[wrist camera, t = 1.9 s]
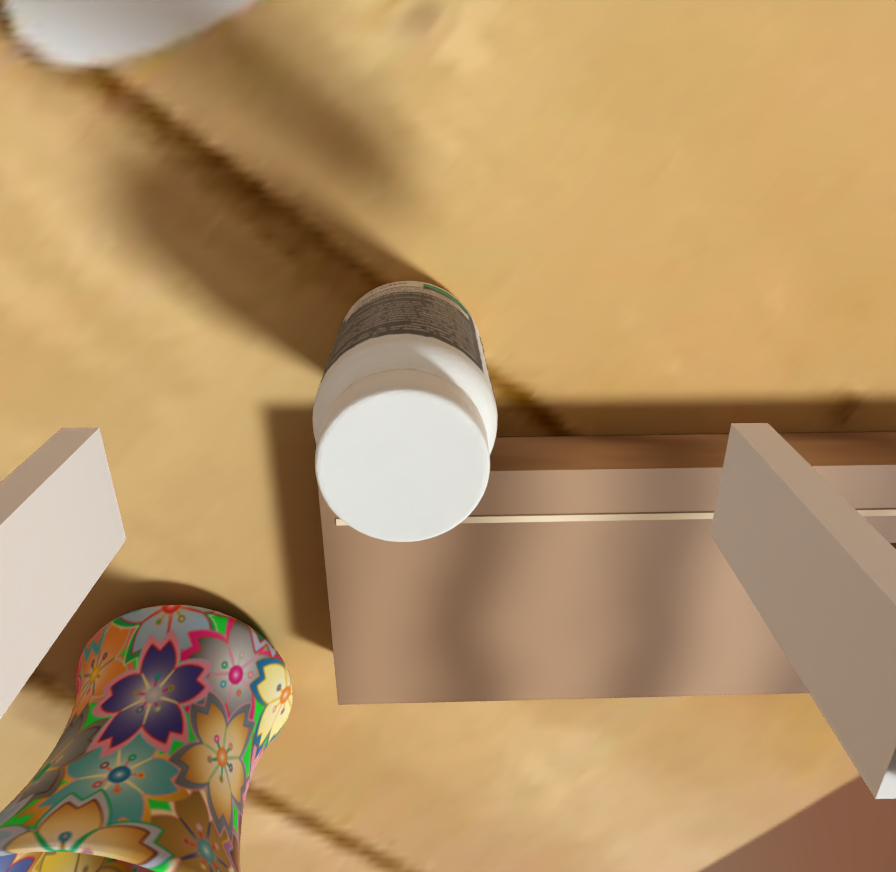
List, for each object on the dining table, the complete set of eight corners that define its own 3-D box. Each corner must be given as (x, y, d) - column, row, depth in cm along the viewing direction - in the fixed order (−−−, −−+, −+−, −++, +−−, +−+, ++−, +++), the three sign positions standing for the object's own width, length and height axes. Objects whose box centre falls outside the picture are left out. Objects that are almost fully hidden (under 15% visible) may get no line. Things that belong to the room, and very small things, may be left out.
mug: (35, 609, 27) (-174, 882, 18) (261, 560, 27) (170, 815, 17) (160, 808, 33) (50, 1103, 23) (352, 770, 32) (321, 1058, 22)
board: (345, 657, 29) (338, 705, 27) (326, 439, 25) (316, 474, 22) (868, 645, 30) (906, 691, 27) (940, 431, 25) (992, 464, 23)
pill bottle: (315, 304, 23) (260, 407, 15) (455, 257, 22) (472, 339, 14) (368, 430, 25) (343, 578, 17) (498, 389, 24) (532, 524, 16)
